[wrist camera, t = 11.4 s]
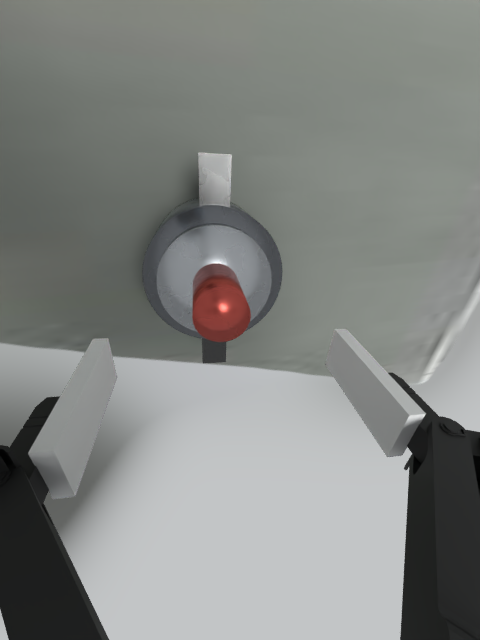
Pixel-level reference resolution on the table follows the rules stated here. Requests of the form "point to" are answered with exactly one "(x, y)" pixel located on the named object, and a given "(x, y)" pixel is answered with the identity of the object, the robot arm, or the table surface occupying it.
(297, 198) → the table surface
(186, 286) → the lid
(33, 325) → the table surface
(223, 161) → the pot
